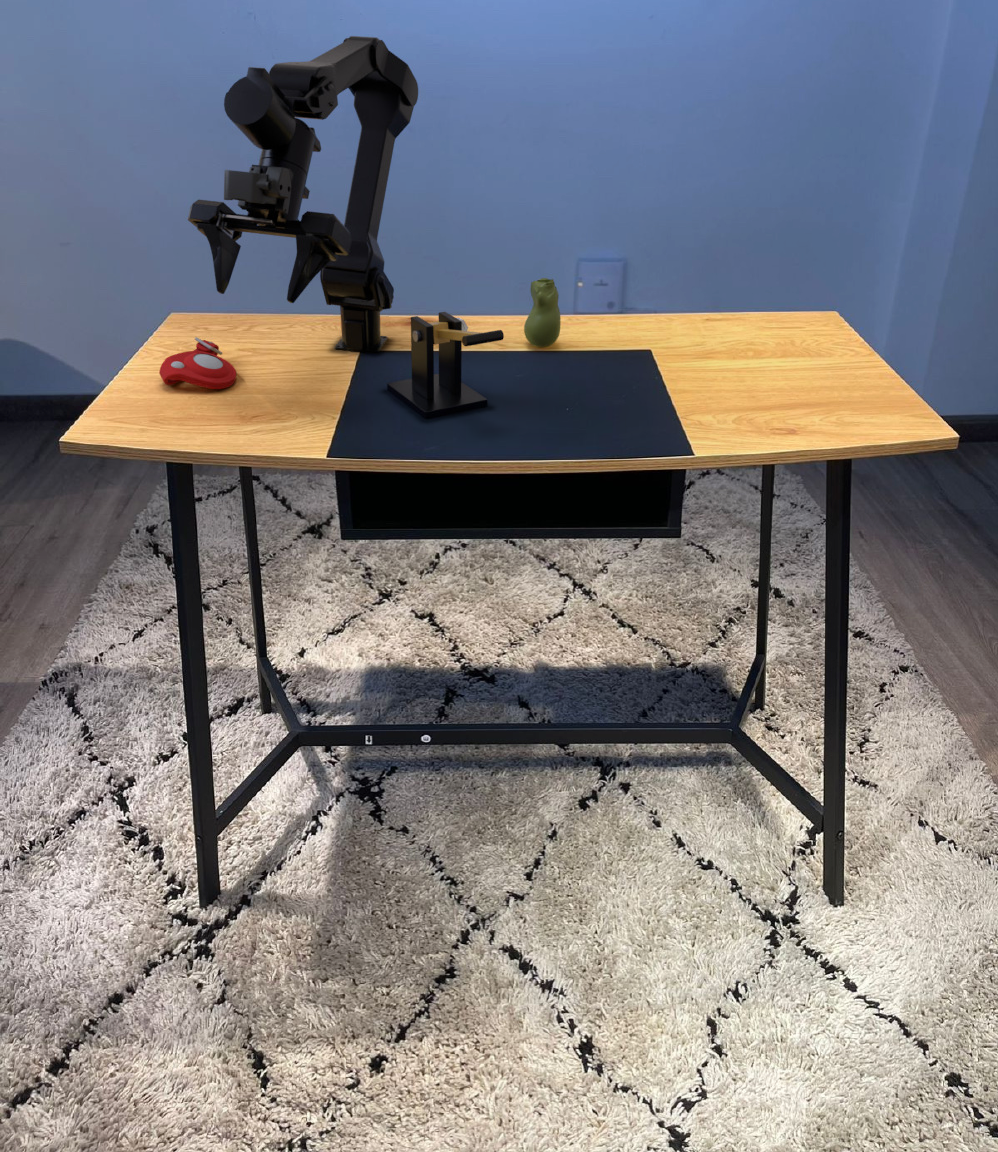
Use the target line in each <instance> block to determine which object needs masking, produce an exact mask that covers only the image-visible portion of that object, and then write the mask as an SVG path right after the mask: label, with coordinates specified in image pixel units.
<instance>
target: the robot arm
mask: <svg viewBox="0 0 998 1152" xmlns="http://www.w3.org/2000/svg"><path fill="white" fill-rule="evenodd" d="M347 89H348V90H349V91H350V93H351V95H353V97H354V98H353V107H354V110H355V113H356V115H357V118H358V121H359V123H360V127H361V128H360V134H359V139H358V146H357V150H356V157H355V161H354V162H355V163H354V168H353V173H352V178H351V184H350V189H349V196H348V200H347V206H346V212H345V217H344V223H342V222H341V220H340V219H338V217H337V216H336V215H335V213H328V212H318V211H309V210H307V211H306V212H304V213H303V214H302V215H301V219H300V220H299V217H300V211H301V206H302V203H303V200H309V198H310V197H309V196H310V192H311V191H310V189H309V188H308V187H307V186H306V185H307V179H308V176H309V172H310V171H309V170H310V167H311V161H312V157H313V153H320V152H321V151H322V146H321V141H320V140H319V138H318V137H317V134H316V130H315V128H314V127H311V126H309V124H307V123H306V122H305V121H304V120H302V119H308V120H322V121H323V120H326V119H327V118H329V116H330V115H331V114H332V113H333V112H334V111H335V109H337V107H339V101H338V95H339V94H341V93H342V92H344V91H346V90H347ZM418 99H419V84H418V80H417V78H416V77H415V75H414V72H412V70H411V68H410V66H409V65H408V63H406V61H404V60H403V59H401V58H400V57H399V56H397V55H396V54H395V53H393V52H392V51H390V50H389V48H388V46H387V45H386V43H385V42H384V40H383V39H380V38H378V37H376V36H375V37H374V36H359V35H358V36H357V35H351V36H349V37H346V38H345V39H344V40H343V41H342V42H341V43H340V44H338V45H336V46H334V47H332V48H331V49H329V50H326V51H325V52H324V53H322V54H320V55H318V56H317V57H315V58H312V59H311V60H309V61H308V60H307V61H286V62H278V63H275V64H273V66H271V68H270V69H269V71H268V70H267V68H265V67H254V66H248V68H247V72H246V76H244V77H242V78H239V79H237V80H236V81H235V82H234V83H233V85H231V86H230V88H229V89H228V91H227V92H226V93H225V95H224V99H223V100H224V101H223V108H224V112H225V114H226V116H227V117H228V119H229V120H230V121H231V122H232V123H233V124H234V126H235V127H236V128H237V129H238V130H239V131H240V132H241V133H242V134H243V135H244V136H245V137H246V138H247V139H248V140H249V141H250V143H251V144H252V145H253V146H255V147H256V148H257V149H260V150H261V151H260V157H259V161H258V164H251V166H250V167H249V170H248V171H242V170H241V171H240V170H232V169H231V170H230V169H224V175H223V177H224V179H223V200H224V201H237V206H238V207H239V208H240V209H241V210H242V211H246V212H247V213H246V214H241V213H236V211H234V210H233V209H232V208H231V207H230V206H228V204H226V203H225V202H224V201H216V200H207V199H197V200H195V201H194V202H192V204H191V206H190V208H189V212H188V216H187V221H188V222H189V223H190V224H192V225H193V226H194V227H196V228H197V229H196V230H198V232H199V233H201V234H202V235H203V236H205V238H206V240H207V242H208V244H209V247H210V252H211V256H212V264H213V271H214V278H215V279H214V280H215V285H216V292H218V293H219V294H221V295H224V294H225V293H226V291H227V289H228V286H229V285H230V281H231V278H232V275H233V272H234V270H235V267H236V263H237V259H238V257H239V254H240V250H241V245H240V244H239V243H238V242H237V241H238V240H239V239H241V238H242V237H243V233H250V234H259V235H268V236H275V237H276V236H277V237H285V238H294V239H295V244H296V255H295V259H294V263H293V267H292V271H291V275H290V280H289V282H288V288H287V295H286V301H287V302H288V303H290V304H294V303H295V302H296V301H297V300H298V298H299V297H300V296H301V295H302V293H303V292H304V291H305V289H307V287H308V286H309V284H310V283H311V282H312V281H313V279H314V278H315V277H316V276H317V275H318V274H319V278H320V283H321V288H322V292H323V296H324V300H325V302H326V305H327V306H338V307H339V311H340V313H339V315H340V329H341V339H340V340H339V341H338V342H337V343H336V344H335V346H334V350H335V351H341V352H352V353H353V352H354V353H355V352H356V353H364V354H365V353H366V354H378V353H379V352H380V351H381V350H382V349H383V347H384V346H385V344H386V343H387V341H389V337H388V336H386V335H382V332H381V331H382V330H381V312H382V311H384V310H389V309H392V304H393V302H394V298H395V297H394V293H395V292H394V291H395V288H394V286H393V285H392V283H391V281H390V280H389V278H388V276H387V274H386V273H385V271H384V270H385V259H384V257H383V254H382V253H383V252H382V250H381V248H380V246H379V243H378V237H379V231H380V226H381V225H380V224H381V220H382V219H381V218H382V214H383V209H384V203H385V199H386V197H385V196H386V191H387V186H388V181H389V175H390V169H391V164H392V159H393V155H394V148H395V142H396V139H397V138H398V137H399V136H400V135H401V133H403V132H404V130H405V128H406V127H407V126H408V125H409V124H410V123H411V119H412V116H413V112H414V108H415V106H416V105H417V103H418Z"/></svg>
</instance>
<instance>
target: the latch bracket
mask: <svg viewBox="0 0 998 1152" xmlns="http://www.w3.org/2000/svg"><path fill="white" fill-rule="evenodd" d="M457 318H458V317H455V316H454V315H451V314H450V313H448V312H447V311H441V312H438V322H446V323H448V329H450V330H460V331H462V321H460V320H459V319H457ZM429 323H430V322H428V321H426V320H424V319H423V318H421V317H420V316H418V315H415V316H410V352H411V353H410V355H411V359H410V361H411V378H407V379H402V380H398V381H392V382H387V383H386V388H387V389H386V390H387V392H389V393H390V394H392V395H393V396H394V397H395V398H397V400H400V401H401V402H402V403H403V404H404V405H406V406H407V407H409V408H410V409H411V410H412V411H414V412H415V413H416V414H418V415H419V416H420V417H421V418H423V419H425V420H429V419H435V418H439V417H444V416H449V415H453V414H458V413H463V412H468V411H472V410H478V409H482V408H487V407H488V398H486V397H485V396H483V395H482V394H480V393H478V391H476V390H474V389H473V388H471V387H470V386H468V385H466V384H465V383H463V382H462V353H463V351H462V347H463V343H462V341H458V340H450V342H446V343H440V344H438V373H435V358H434V357H435V354H434V351H435V349H434V346H435V344H434V331H433V325H431V324H429Z"/></svg>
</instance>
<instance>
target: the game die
mask: <svg viewBox="0 0 998 1152" xmlns="http://www.w3.org/2000/svg"><path fill="white" fill-rule="evenodd" d="M456 318H457V319H459V320H460V321H462V331H469V326H468V325H467V323H466V321H465V320H464V319H462V318H460V317H456Z"/></svg>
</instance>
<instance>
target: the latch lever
mask: <svg viewBox="0 0 998 1152" xmlns="http://www.w3.org/2000/svg"><path fill="white" fill-rule="evenodd" d="M428 323H429V324H431V325H433V331H434V345H439V344H440V343H446V342H450V340H458V341H462V346H464V347H471V346H476V345H482V344H488V343H493V342H498V341H504V338H505V334H504V332H503V330H502V329H498V330H491V331H486V332H477V331H469V330H467V331H460V330H450V329H448V323H446V322H439V321H434V322H433V321H432V322H428Z"/></svg>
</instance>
